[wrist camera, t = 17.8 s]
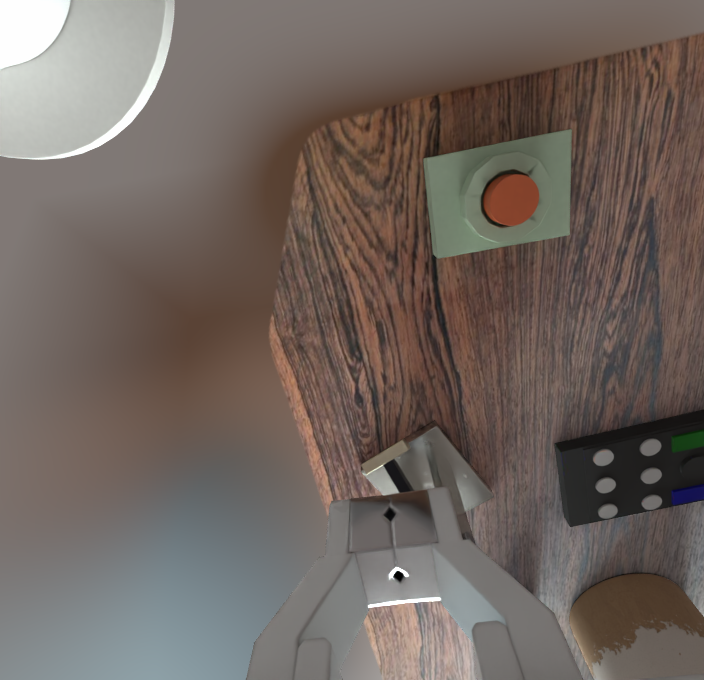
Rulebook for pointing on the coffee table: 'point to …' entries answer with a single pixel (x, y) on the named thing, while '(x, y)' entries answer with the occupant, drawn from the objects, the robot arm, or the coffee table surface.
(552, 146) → the button box
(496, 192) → the button
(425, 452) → the bracket
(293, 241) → the coffee table surface
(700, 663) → the vase
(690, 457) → the remote control
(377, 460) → the lever
